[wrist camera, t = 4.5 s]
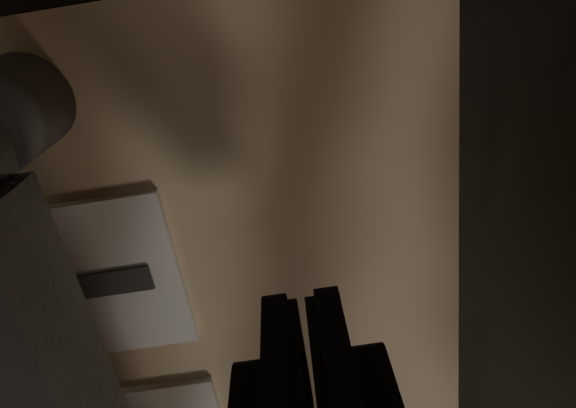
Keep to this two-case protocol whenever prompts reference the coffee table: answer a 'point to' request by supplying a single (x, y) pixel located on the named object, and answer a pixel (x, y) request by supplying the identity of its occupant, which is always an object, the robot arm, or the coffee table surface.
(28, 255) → the swing bar
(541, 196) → the coffee table surface
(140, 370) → the label board
